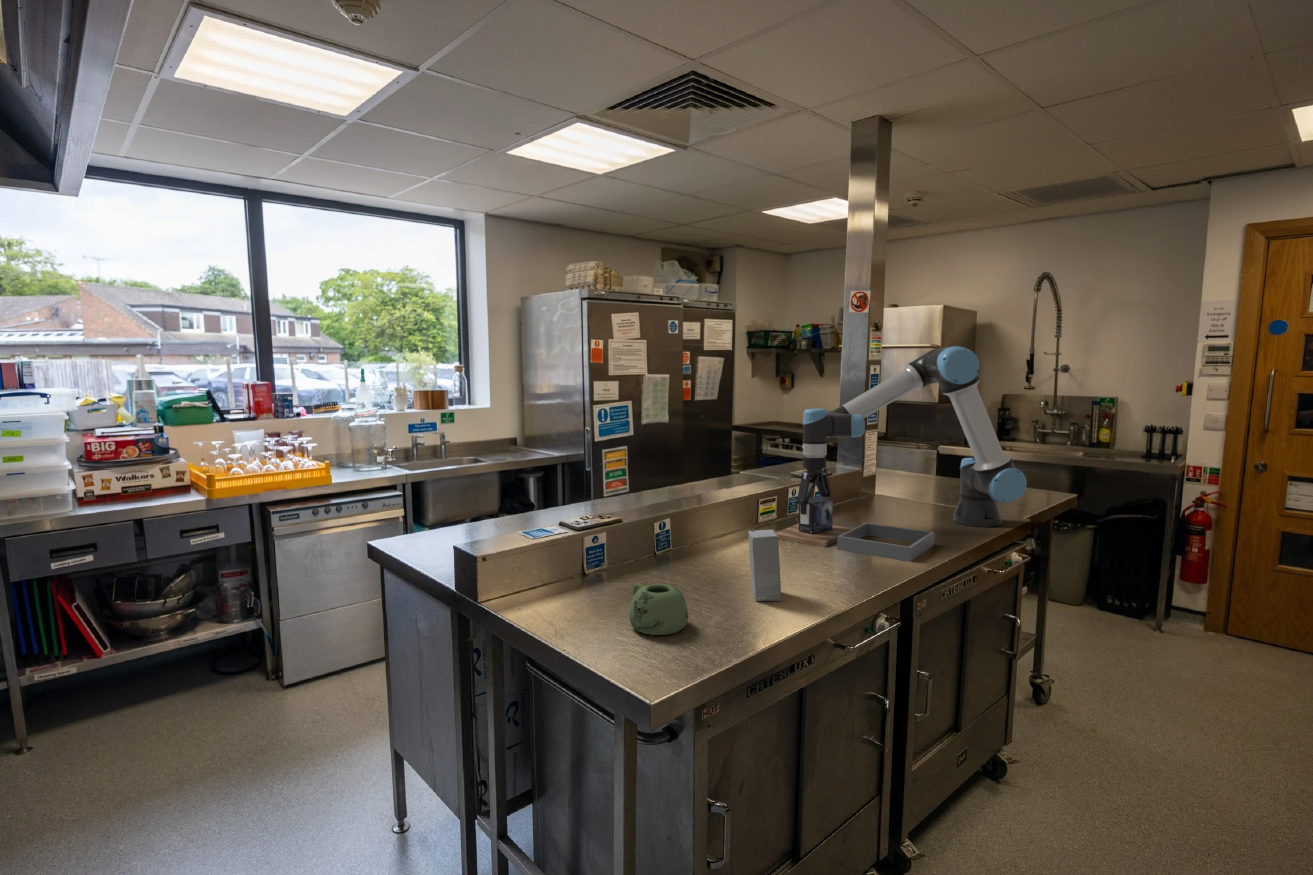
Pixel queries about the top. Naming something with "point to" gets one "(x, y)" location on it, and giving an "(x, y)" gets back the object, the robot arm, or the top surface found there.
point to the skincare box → (764, 565)
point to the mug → (658, 609)
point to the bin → (856, 544)
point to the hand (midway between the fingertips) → (814, 519)
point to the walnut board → (812, 535)
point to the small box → (818, 515)
